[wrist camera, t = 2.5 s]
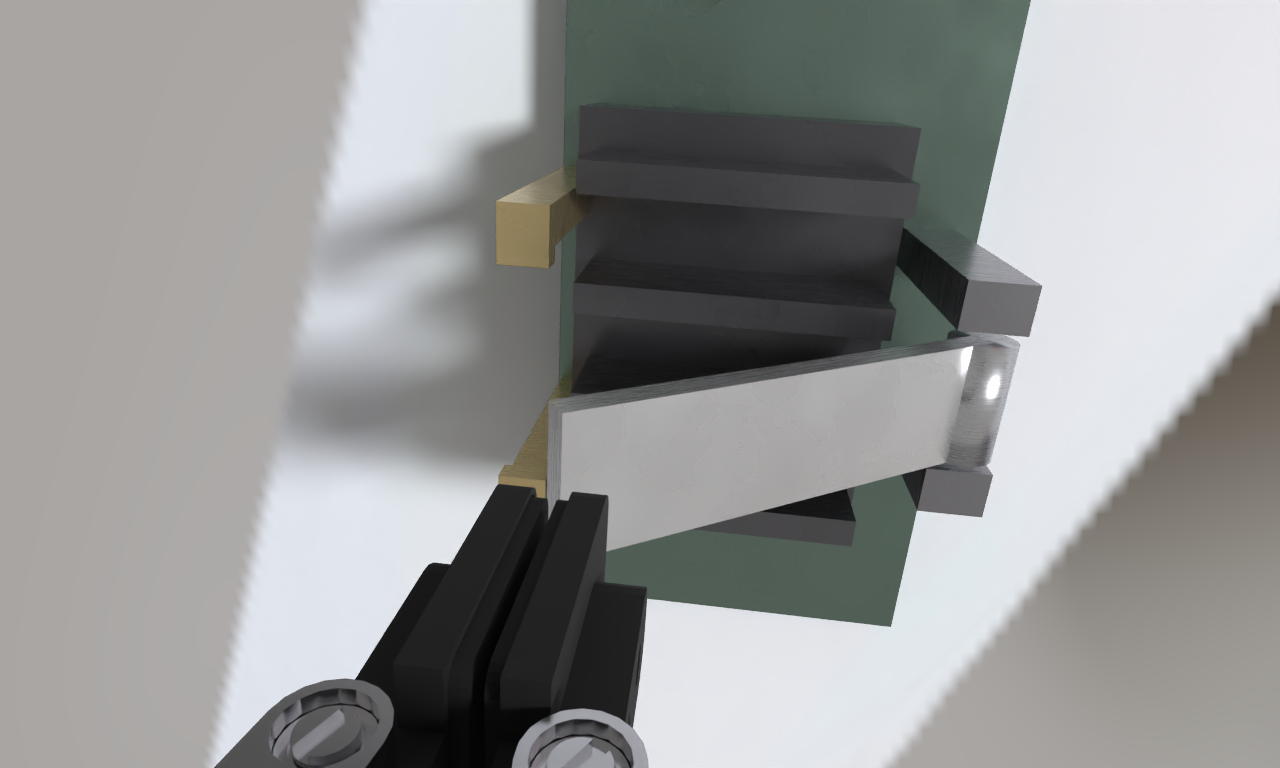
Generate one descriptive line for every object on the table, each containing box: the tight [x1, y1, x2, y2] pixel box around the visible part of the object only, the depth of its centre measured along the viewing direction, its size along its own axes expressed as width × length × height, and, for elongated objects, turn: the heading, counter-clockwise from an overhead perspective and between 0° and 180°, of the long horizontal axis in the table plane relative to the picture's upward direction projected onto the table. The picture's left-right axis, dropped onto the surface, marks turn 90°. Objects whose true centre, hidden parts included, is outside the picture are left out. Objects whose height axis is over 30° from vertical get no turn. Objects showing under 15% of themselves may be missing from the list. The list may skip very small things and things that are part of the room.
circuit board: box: [496, 0, 1042, 627], centre depth 22 cm, size 24×13×9 cm, turn 177°
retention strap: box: [547, 330, 1020, 551], centre depth 16 cm, size 3×12×2 cm, turn 87°
